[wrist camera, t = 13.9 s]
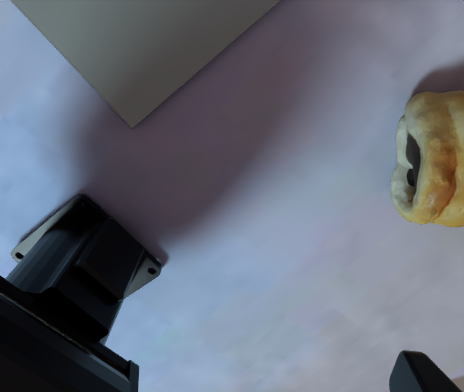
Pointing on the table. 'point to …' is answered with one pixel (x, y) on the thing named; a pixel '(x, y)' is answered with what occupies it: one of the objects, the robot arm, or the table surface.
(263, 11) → the slate mat
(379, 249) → the table surface
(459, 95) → the pastry
